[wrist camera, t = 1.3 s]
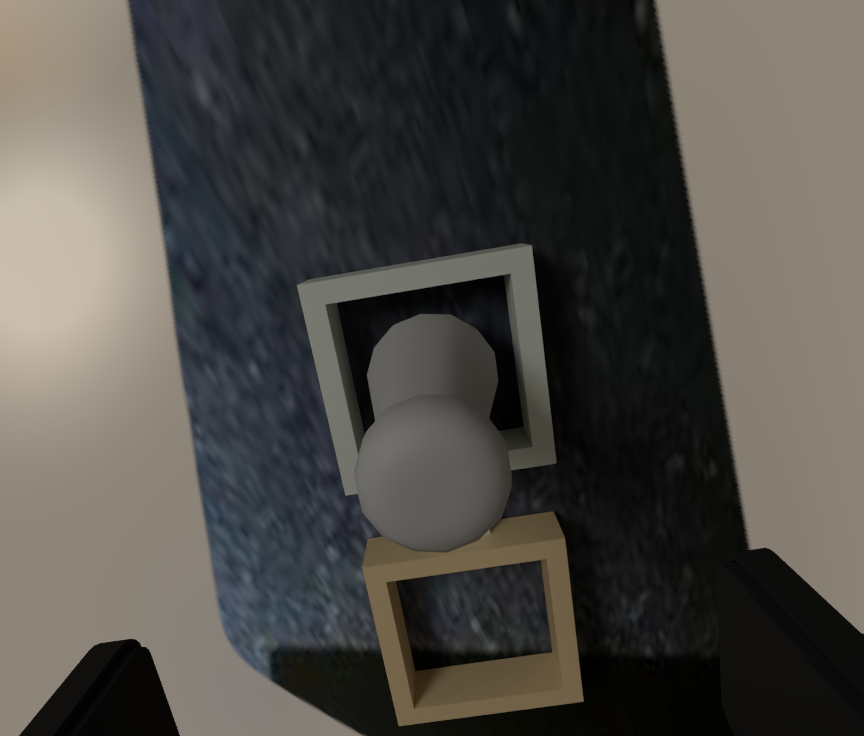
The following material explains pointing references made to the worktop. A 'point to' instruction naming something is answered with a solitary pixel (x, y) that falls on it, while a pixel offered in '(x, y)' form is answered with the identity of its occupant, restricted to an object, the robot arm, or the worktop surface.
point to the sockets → (502, 545)
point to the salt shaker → (433, 437)
